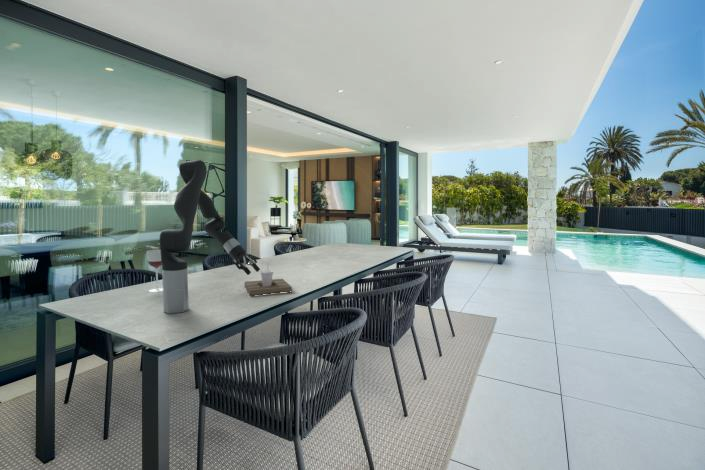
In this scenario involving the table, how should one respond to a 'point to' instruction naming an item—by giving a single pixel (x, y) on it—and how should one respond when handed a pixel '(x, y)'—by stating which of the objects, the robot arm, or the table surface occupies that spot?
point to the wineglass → (154, 264)
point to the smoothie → (266, 277)
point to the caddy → (267, 287)
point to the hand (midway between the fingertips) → (254, 272)
